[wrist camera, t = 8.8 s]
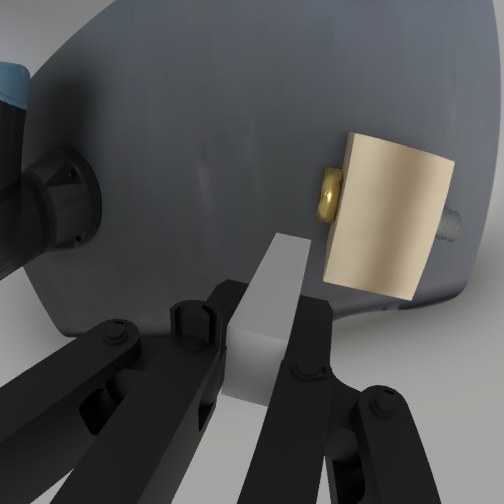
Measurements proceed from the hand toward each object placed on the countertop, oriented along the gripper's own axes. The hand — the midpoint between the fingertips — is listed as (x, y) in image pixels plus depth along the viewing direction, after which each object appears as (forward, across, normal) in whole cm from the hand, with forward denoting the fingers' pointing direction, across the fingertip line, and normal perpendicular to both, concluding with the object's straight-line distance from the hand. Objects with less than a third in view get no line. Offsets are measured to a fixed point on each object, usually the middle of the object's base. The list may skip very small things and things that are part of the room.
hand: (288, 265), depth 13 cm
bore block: (+19, +6, 0) cm, 20 cm away
